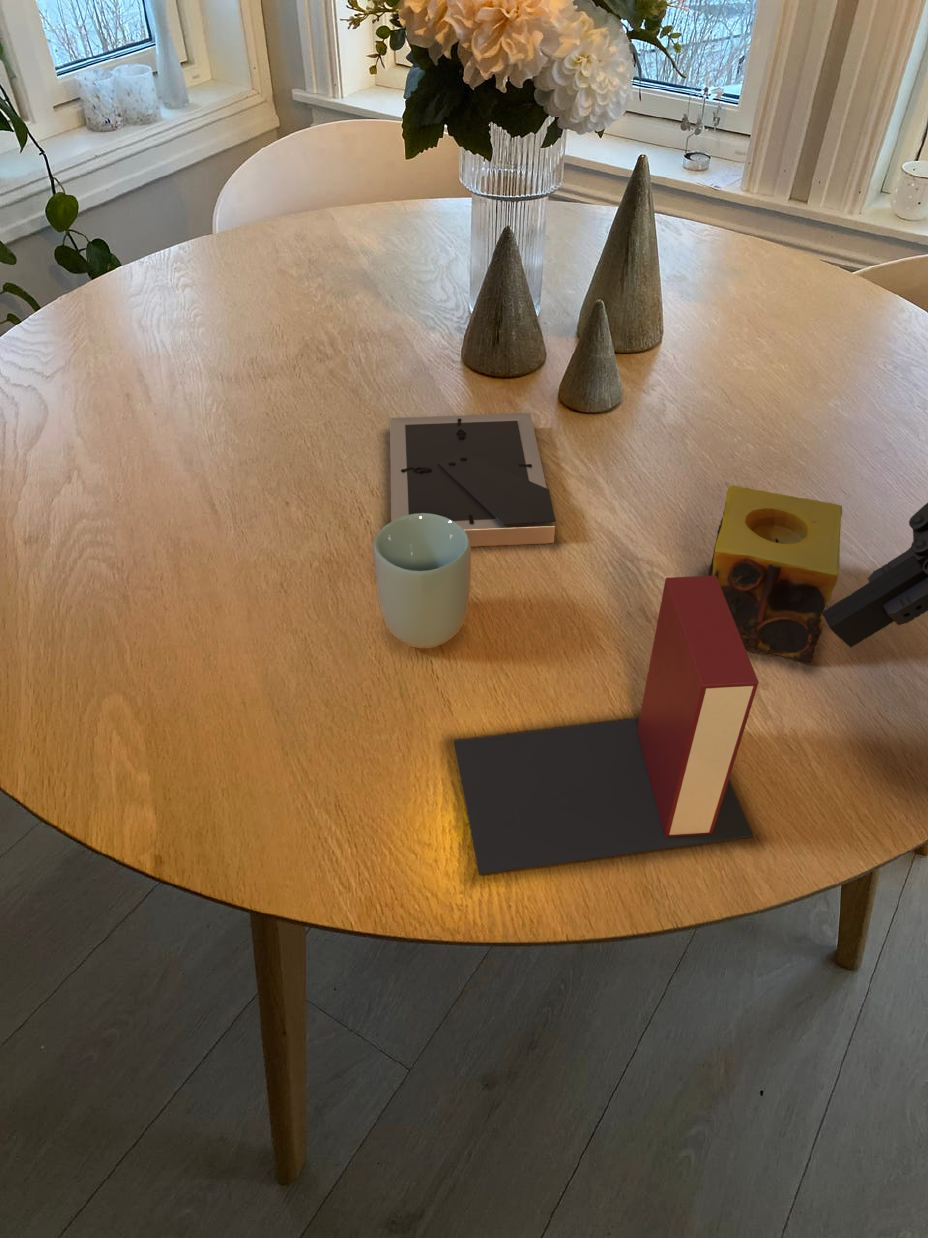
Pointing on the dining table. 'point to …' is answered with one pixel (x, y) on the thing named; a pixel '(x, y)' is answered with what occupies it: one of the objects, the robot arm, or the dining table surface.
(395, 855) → the dining table surface
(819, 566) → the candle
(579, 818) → the mat
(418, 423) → the picture frame
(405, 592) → the cup
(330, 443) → the dining table surface
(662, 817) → the book
